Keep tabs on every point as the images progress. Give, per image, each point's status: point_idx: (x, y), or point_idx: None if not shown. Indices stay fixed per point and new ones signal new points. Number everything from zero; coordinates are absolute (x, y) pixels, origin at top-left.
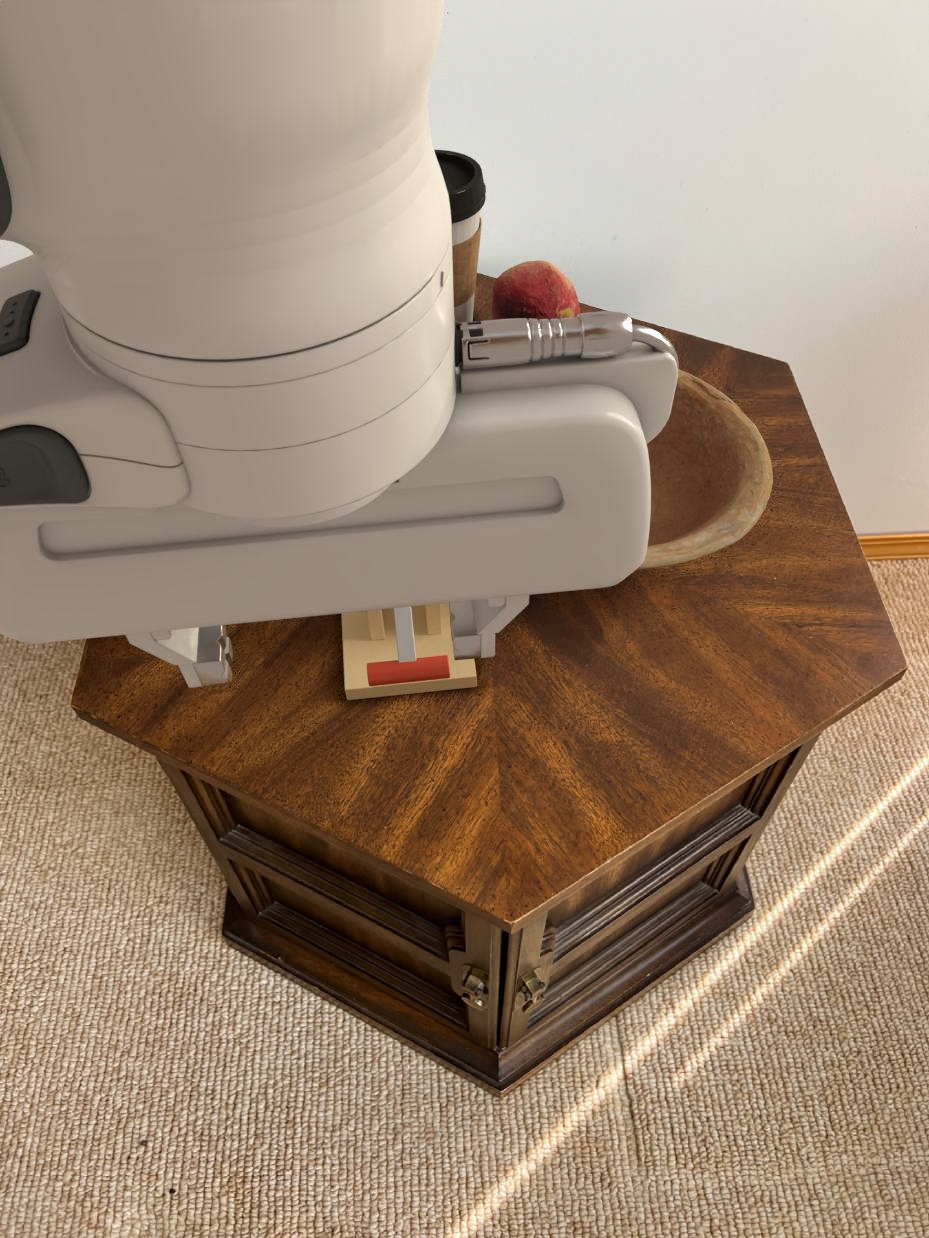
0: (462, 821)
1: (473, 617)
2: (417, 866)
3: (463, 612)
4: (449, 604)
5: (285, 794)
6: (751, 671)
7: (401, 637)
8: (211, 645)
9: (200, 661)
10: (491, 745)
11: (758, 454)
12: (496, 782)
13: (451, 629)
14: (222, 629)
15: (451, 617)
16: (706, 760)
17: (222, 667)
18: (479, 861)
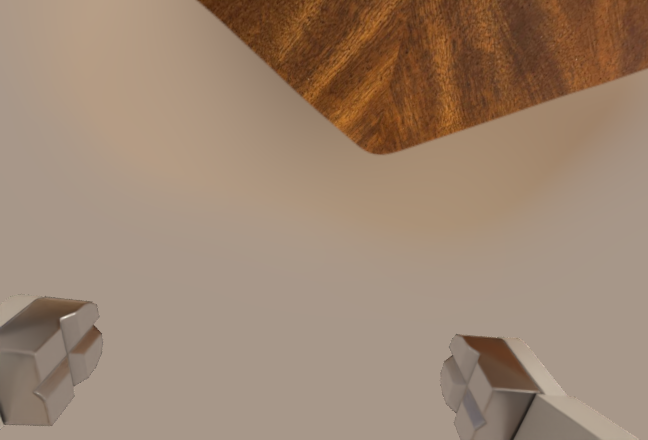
0: (361, 88)
1: (515, 430)
2: (324, 113)
3: (503, 422)
4: (487, 400)
5: (239, 30)
6: (621, 14)
7: None
8: (25, 398)
9: (12, 422)
10: (400, 29)
11: None
12: (393, 63)
13: (460, 367)
14: (39, 372)
15: (476, 402)
16: (540, 86)
17: (64, 408)
18: (364, 120)
